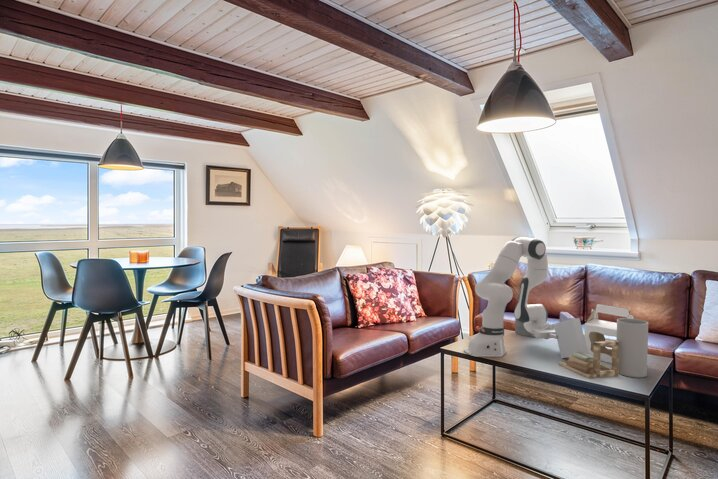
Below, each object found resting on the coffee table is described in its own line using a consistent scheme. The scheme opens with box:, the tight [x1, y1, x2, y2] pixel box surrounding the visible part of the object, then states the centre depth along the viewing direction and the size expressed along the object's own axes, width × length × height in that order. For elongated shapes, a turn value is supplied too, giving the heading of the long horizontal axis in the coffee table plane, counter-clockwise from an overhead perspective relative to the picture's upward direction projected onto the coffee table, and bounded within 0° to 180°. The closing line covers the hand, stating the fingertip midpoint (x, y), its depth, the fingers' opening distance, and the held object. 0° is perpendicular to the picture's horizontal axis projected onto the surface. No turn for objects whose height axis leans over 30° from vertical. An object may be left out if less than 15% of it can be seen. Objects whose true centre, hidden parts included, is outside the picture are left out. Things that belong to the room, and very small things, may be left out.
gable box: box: [583, 303, 635, 364], centre depth 229 cm, size 22×13×28 cm, turn 32°
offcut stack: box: [566, 352, 594, 374], centre depth 210 cm, size 6×13×7 cm, turn 12°
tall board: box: [553, 317, 589, 359], centre depth 227 cm, size 4×16×18 cm, turn 13°
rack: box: [558, 340, 619, 379], centre depth 213 cm, size 16×20×16 cm
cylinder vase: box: [616, 317, 649, 379], centre depth 207 cm, size 12×12×25 cm
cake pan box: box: [558, 311, 575, 323], centre depth 257 cm, size 19×5×18 cm, turn 170°
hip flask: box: [514, 303, 536, 338], centre depth 280 cm, size 16×4×20 cm, turn 32°
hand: (561, 337), depth 234 cm, fingers closed on tall board, 4 cm apart
